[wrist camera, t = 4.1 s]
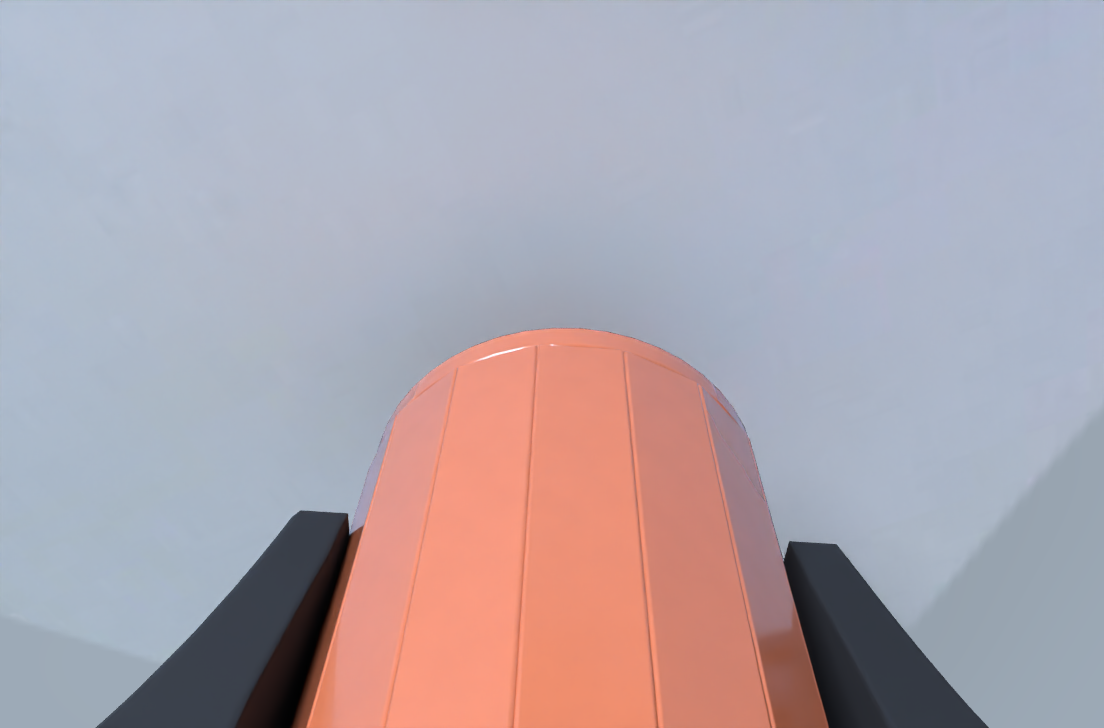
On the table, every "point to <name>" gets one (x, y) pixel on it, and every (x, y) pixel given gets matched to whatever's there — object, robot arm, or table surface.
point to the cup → (562, 555)
